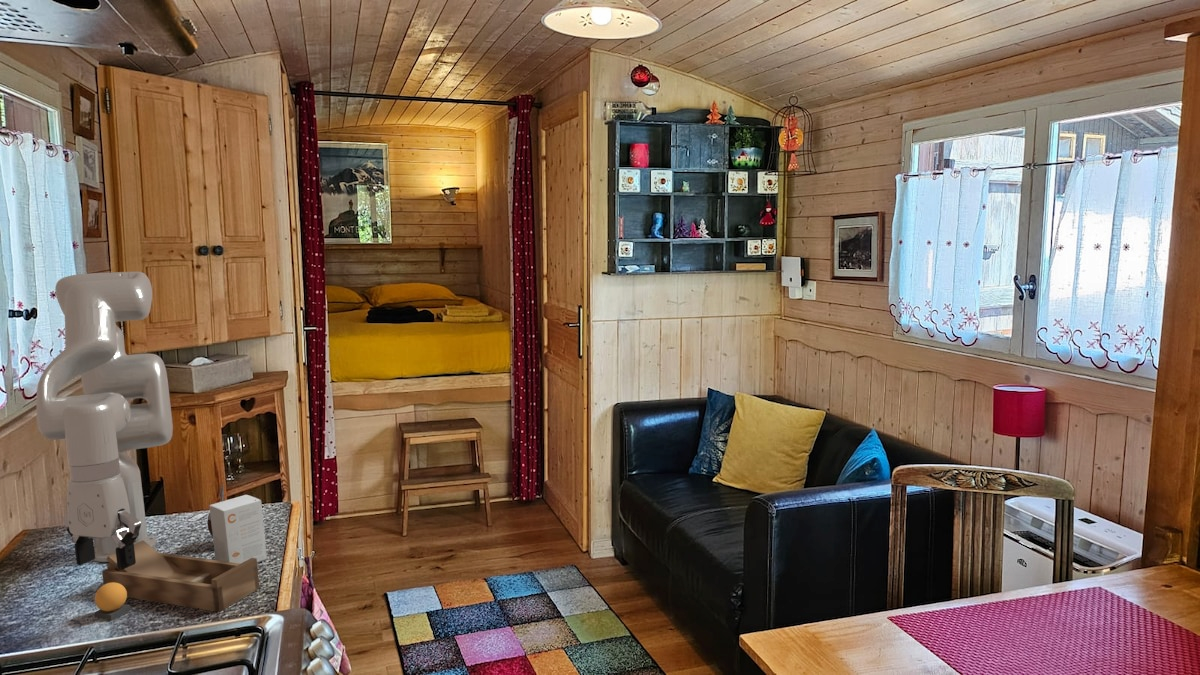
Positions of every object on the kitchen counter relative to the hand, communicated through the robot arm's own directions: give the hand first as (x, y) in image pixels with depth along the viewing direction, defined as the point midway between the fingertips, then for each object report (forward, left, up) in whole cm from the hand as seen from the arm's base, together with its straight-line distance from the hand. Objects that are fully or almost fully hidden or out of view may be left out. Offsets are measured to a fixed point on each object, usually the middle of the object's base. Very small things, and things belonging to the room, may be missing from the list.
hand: (106, 564), depth 146 cm
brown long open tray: (+4, +12, -10) cm, 16 cm away
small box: (+5, +26, -10) cm, 28 cm away
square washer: (-1, +1, -10) cm, 10 cm away
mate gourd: (-5, +33, -10) cm, 34 cm away
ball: (-1, +1, -6) cm, 6 cm away
